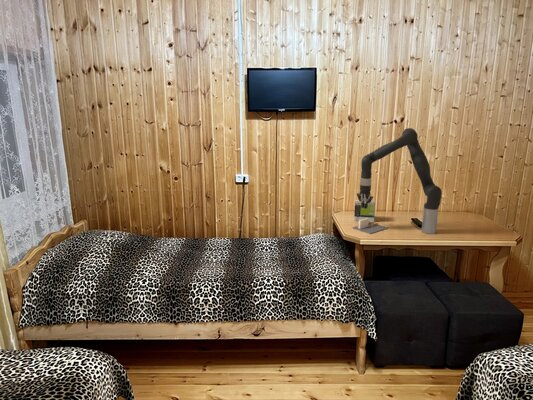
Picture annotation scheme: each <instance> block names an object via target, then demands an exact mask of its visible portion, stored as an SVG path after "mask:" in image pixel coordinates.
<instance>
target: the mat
mask: <svg viewBox="0 0 533 400" xmlns="http://www.w3.org/2000/svg"><path fill="white" fill-rule="evenodd" d="M352 229H354V230H357V231H360V232H363V233H366V234H369V235H372V234H375V233H378V232H382V231H384V230H388V229H389V227H387V226H384V225H380V224H378V225H376V226H372V227H371V226H370V225H368V227H365V228H361V229H359V228H358V225H356V226H353V227H352Z"/></svg>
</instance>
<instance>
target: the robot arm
mask: <svg viewBox="0 0 533 400" xmlns="http://www.w3.org/2000/svg"><path fill="white" fill-rule="evenodd" d="M403 147H407V149H408V151H409V155H410V158H411V162H412V164H413V167H414V170H415V171H416V174H417V176H418V178H419V180H420V183H421V187H422V190H423V193H424V195H425V196H426V202H425V203H424V204H423V213H422V221H421V222H422V223H421V232H422V233H424V234H429V235H432V234H433V235H434V234H436V233H437V227H438V217H439V216H438V215H439V209H440V208H439V207H440V205H441V200H442V194H443V193H442V192H443V191H442V188H440V186H438V185H436V184H435V181H434V180H433V178H432V176H431V175H432V174H431V167H430V163H429V159H428V158H427V156H426V154H425V152H424V150H423V149H422V147H421V146H420V143H419V140H418V132H417V131H416V130H415V129H414V128H411V127H408V128H407V127H406V128H405V129H404V130H403V131H402V134H401V135H400V136H399V137H397V139H395V140H393V141H391V142H389V143H386V144H384V145H382V146H380V147H378V148H377V149H375V150H374V151H371V152H370V153H367V154H365V155H364V156H363V157H362V159H361V173H360V181H359V183H360V184H359V192H358V193H356V196H357V200H359V201H360V202H361V208H364V209H367V207H368V203H370V202H371V201H373V200H374V196H373V195H372V194H371V191H372V173H373V172H372V169H373V168H372V167H373V166H372V165H373V164H374V163H375V162H376V161H379V160H381V159H384V158H385V157H386V156H388V155H391V154H392V153H393V152H395V151H397V150H399V149H402V148H403ZM364 201H365V204H364Z"/></svg>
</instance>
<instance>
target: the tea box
mask: <svg viewBox="0 0 533 400" xmlns="http://www.w3.org/2000/svg"><path fill="white" fill-rule="evenodd" d="M364 204H365V201H364ZM353 211H354V215H353V217H354V219H353V221H354V222H358V220H361V219H364V218H368V219H369V220H368V222H370V221H374V222H375V216H376V215H375V211H376V202H375V200H372V201H371V202H370V203H368V207H367V209H364V208H361V202H360V201H359V199H354V210H353Z"/></svg>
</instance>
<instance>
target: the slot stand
mask: <svg viewBox="0 0 533 400" xmlns="http://www.w3.org/2000/svg"><path fill="white" fill-rule="evenodd" d="M368 225H370V226H371V227H372V226H376V225H379V222H375V220H374V221H370V222H368Z"/></svg>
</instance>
